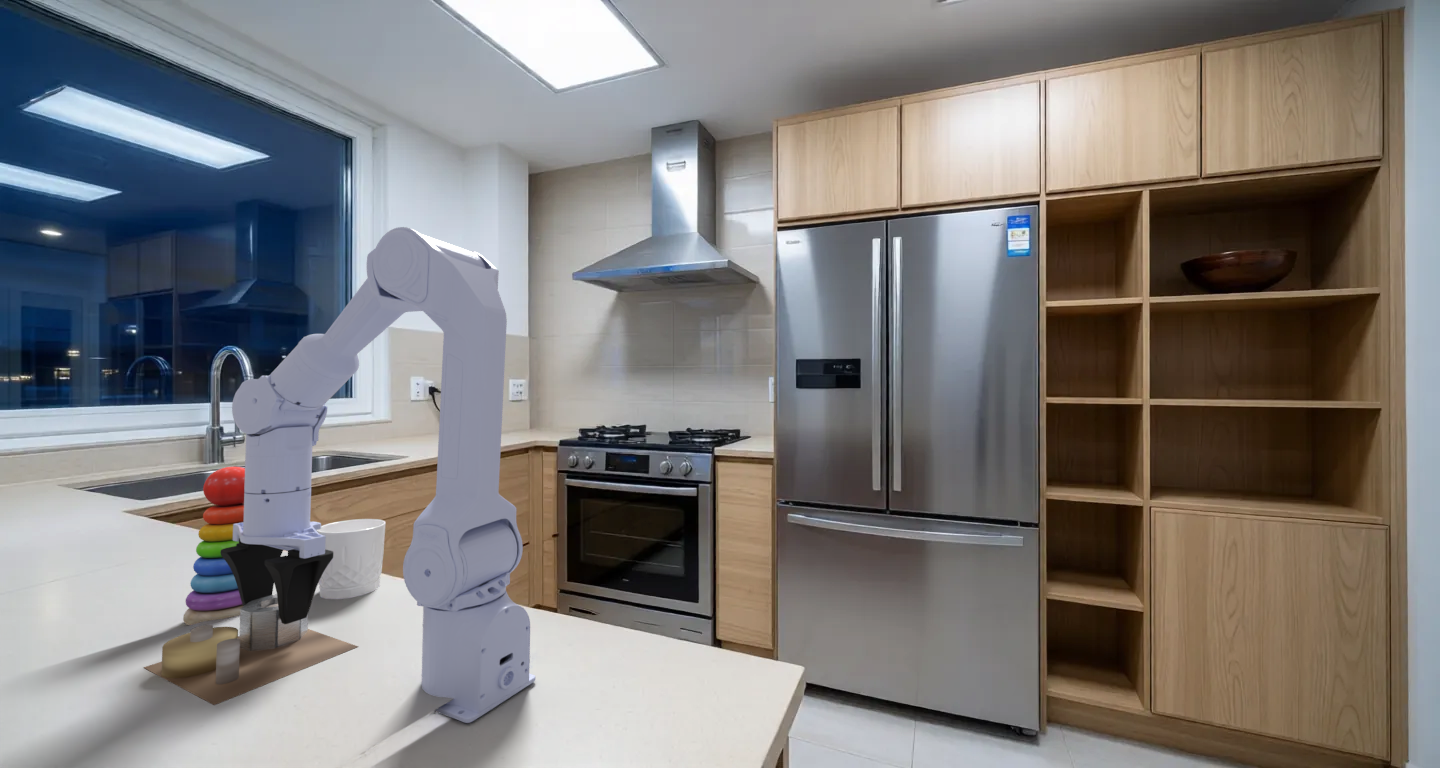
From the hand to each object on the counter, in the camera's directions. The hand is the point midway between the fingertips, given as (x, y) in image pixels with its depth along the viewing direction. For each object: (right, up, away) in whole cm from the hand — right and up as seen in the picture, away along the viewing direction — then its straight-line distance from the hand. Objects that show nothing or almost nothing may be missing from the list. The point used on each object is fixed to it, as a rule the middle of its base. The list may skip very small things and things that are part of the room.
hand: (275, 613), depth 59 cm
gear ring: (0, -3, 0) cm, 3 cm away
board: (+1, -4, -4) cm, 6 cm away
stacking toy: (-13, -4, +8) cm, 16 cm away
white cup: (-2, -4, +15) cm, 15 cm away
